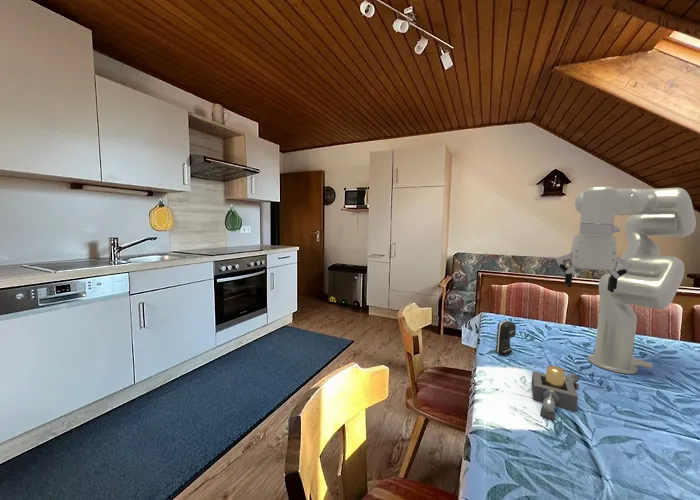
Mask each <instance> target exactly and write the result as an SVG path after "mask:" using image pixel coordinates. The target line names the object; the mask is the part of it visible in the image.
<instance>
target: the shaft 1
mask: <svg viewBox="0 0 700 500" xmlns="http://www.w3.org/2000/svg"><path fill="white" fill-rule="evenodd" d="M542 398H543V400H544V401H543V403H542V405H541V407H540V412H539V413H540V414H539V415H540V417H542V418H545V419H548V420H551V421H555V417H556V412H555V408H556V406H555V405H557V404H558V403H559V400H560V397H559V395H558V393H557V392H555V391H554V390H551V389H546V390H544V391H543V394H542Z"/></svg>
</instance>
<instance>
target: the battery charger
mask: <svg viewBox="0 0 700 500" xmlns="http://www.w3.org/2000/svg"><path fill="white" fill-rule="evenodd" d="M516 328H517V325H516V323H514V322H513V321H510V320H503V321H500V322H499V323H498V325H497V329H496V330H497V331H496V344H495V353H497V354H499V355H504V356H506V355H508V354H510V353H512V352H513V349H512V347H511V344H510V343H511V338H514V337H516V330H517V329H516Z"/></svg>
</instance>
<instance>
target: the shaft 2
mask: <svg viewBox="0 0 700 500" xmlns="http://www.w3.org/2000/svg"><path fill="white" fill-rule="evenodd" d="M579 377H580V376H578V375H577V374H576V373H574V372H573V373H569V374H566V375H565V377H564V379H565V380H572V382H573V385H574V387H575V390H579V386H580V384H579V383H578V382H579V381H580V378H579Z"/></svg>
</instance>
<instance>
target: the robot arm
mask: <svg viewBox="0 0 700 500" xmlns="http://www.w3.org/2000/svg"><path fill="white" fill-rule="evenodd" d="M574 206H575V209H576V211H577V212H578V213H579V214H580V218H579V219H580V221H579V227H578V228H579V230H578V234H575V235H574V237H573V240H572V241H573V242H572V244H571V249H570V253H567V254H564V255H561V256H558V257H556V258H555V260H556V263H557V264H558V266H559V268H560V269H561V270H562V271H563V272H564V273H565V276H564V285H566V287H567V288H571V287H572V284H573V283H572V281H573V274H572V273H573V272H574V271H575V270H576V269H580V270H588V271H589V270H590V271H591V270H592V271H601V272H602V271H603V272H607V273H606V274H604V275H602V276H601V277H600V278H599V281H598V293H599V295H598V296H599V312H598V320H597V329H596V336H595V345H594V353H590V354H588V355H587V359H588V361H589V363H591V364H593V365H595V366H597V367H599V368H601V369H604V370H607V371H611V372H615V373H617V374H618V373H619V374H624V375H634V374H636V373H638V370H639V369H638V368H639V367H641V368H645V369H649V370H652V369H653V363H652V362H648V361H644V359H641V358H636V357H634V347H635V340H636V339H635V338H636V334H637V333H636V332H637V325H638V317H637V314H636V312H635V311H634V310H633V308H632V307H631V305H633V306H639V307H643V308H649V309H653V310H664V309H667V308H668V307H669V306H670V305H671V304H672V302H673V299H674V297H675V296H676V294H677V292H678V289H679V287H680V285H681V283H682V281H683V279H684V277H685V276H684V275H685V264H684V262H683V261H682V259H680V258H678V257H676V256H673V255H664V254H661V249H660V247H659V245H658V244H657V243H656V242H655V241H654V240H653V239H651V238H650V237H651V236H652V237H666V238H667V237H674V238H685V237H688V236H690V235H692V234H693V233H694V231H695V229H696V225H697V220H696V214H695V210H694V206H693V202H692V198H691V197H690V194H689V193H688V191H687V190H686V189H684V188H681V187H667V188H665V187H664V188H663V187H662V188H645V189H644V188H622V187H621V188H616V187H613V186H592V187H588V188H586V189H585V190H584V191H581V192H580V193H579V194H578V195H577V196H576V197H575V201H574ZM615 216H628V217H627V218H626V221H625V227H624V229H625V232H624V233H625V239H626V242H627V247H626V249H625V250H624V252H623V254H622V255H621V257H618V256H617V255H618V254H617V252H618V251H617V248H618V247H617V246H618V245H617V239H616V236H614V234H615V233H620V231H621V227H618V226H615ZM568 259H569V266H568V267H567V266H566V265H565V264H564V261H566V260H568Z"/></svg>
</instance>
